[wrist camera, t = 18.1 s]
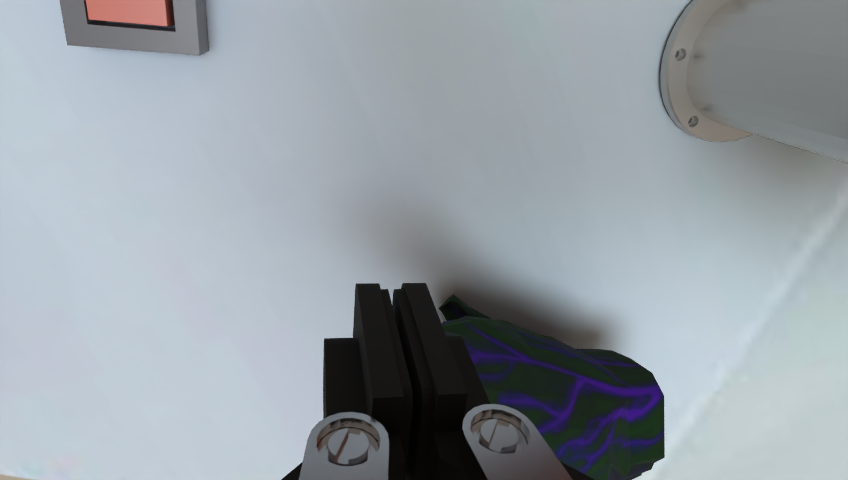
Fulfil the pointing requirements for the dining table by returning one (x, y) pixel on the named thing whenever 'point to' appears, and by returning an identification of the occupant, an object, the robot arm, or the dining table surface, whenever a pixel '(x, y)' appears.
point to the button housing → (139, 30)
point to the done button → (132, 11)
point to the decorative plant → (568, 394)
